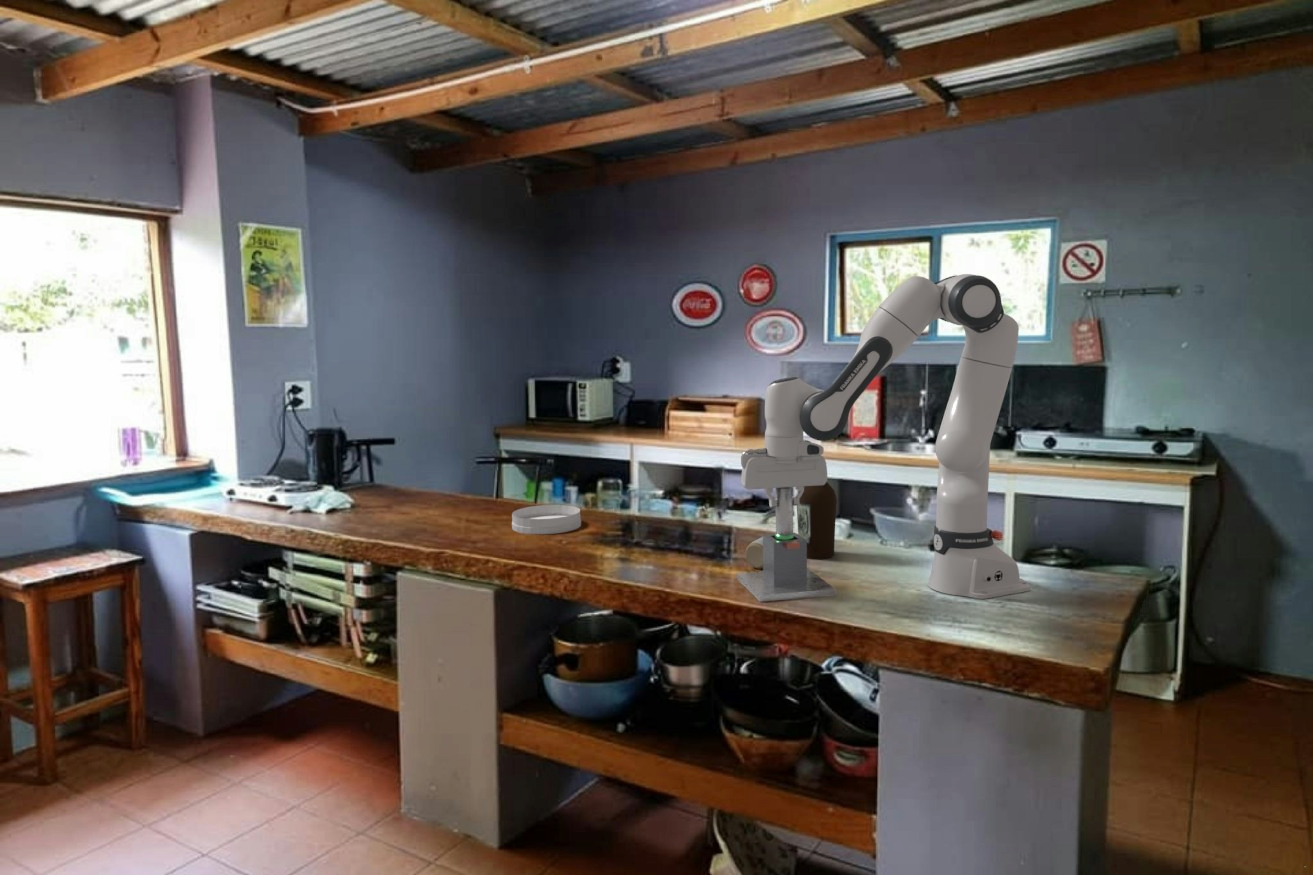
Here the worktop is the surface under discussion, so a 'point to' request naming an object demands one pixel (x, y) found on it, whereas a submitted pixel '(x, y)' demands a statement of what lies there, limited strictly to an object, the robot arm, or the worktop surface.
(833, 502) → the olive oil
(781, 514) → the grey green banded cylinder
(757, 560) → the ceramic mug
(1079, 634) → the worktop surface
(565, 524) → the dish
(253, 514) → the worktop surface
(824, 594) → the stand base
